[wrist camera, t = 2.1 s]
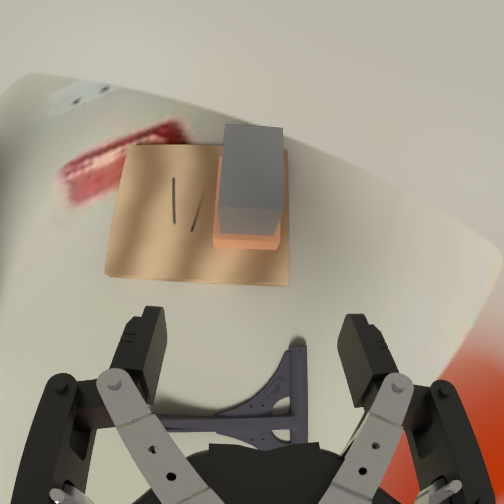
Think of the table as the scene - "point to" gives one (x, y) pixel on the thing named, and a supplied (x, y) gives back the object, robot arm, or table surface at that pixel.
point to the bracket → (260, 409)
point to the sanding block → (249, 188)
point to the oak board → (183, 222)
